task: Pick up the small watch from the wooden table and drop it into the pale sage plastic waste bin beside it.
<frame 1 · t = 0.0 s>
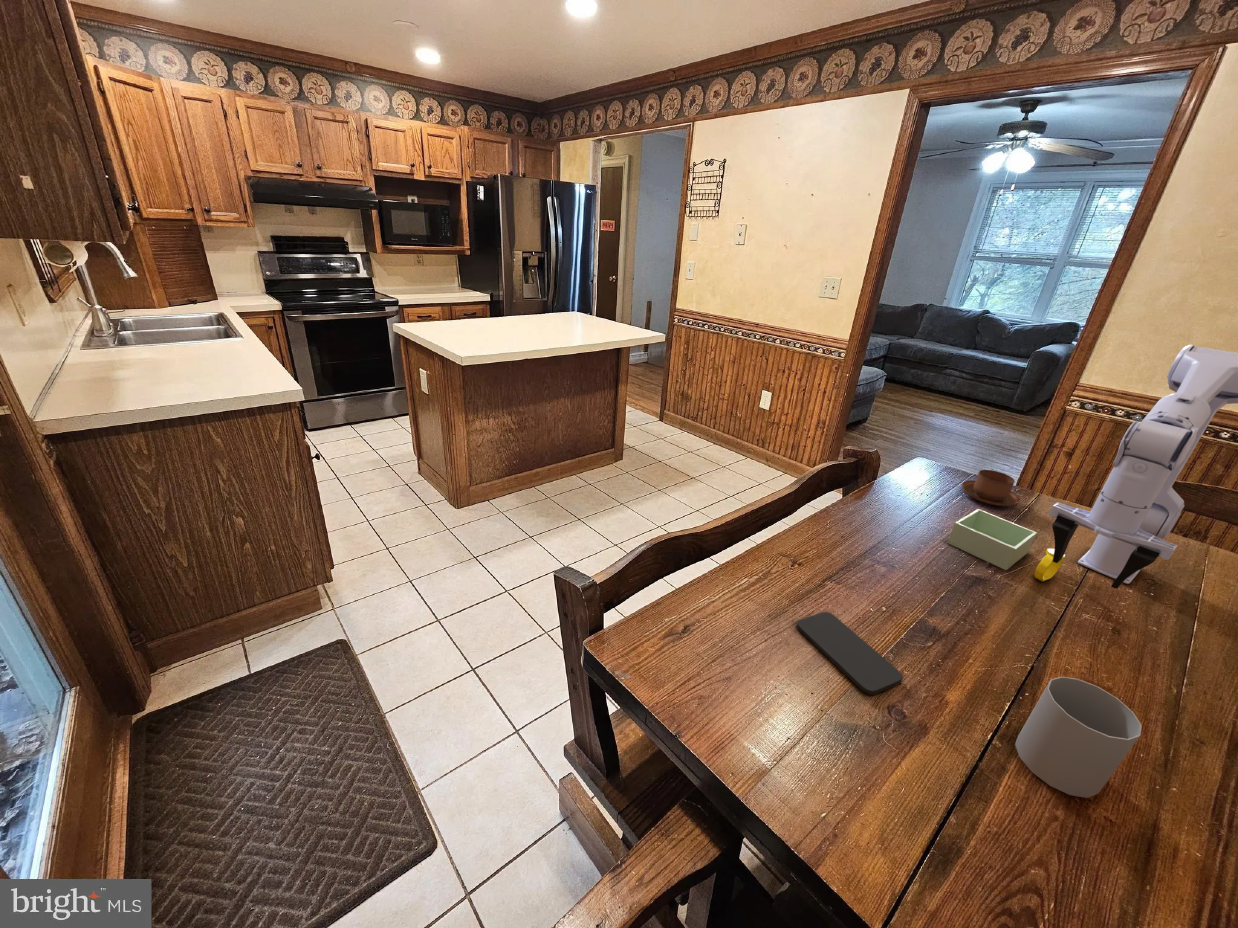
hand: (1085, 572, 82), 10 cm above the table, tool pointing down, fingers open, 7 cm apart
bin: (986, 547, 106), on the table
cup and saucer: (987, 499, 127), on the table
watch: (1042, 579, 98), on the table
phone: (845, 652, 78), on the table
cup: (1055, 763, 63), on the table
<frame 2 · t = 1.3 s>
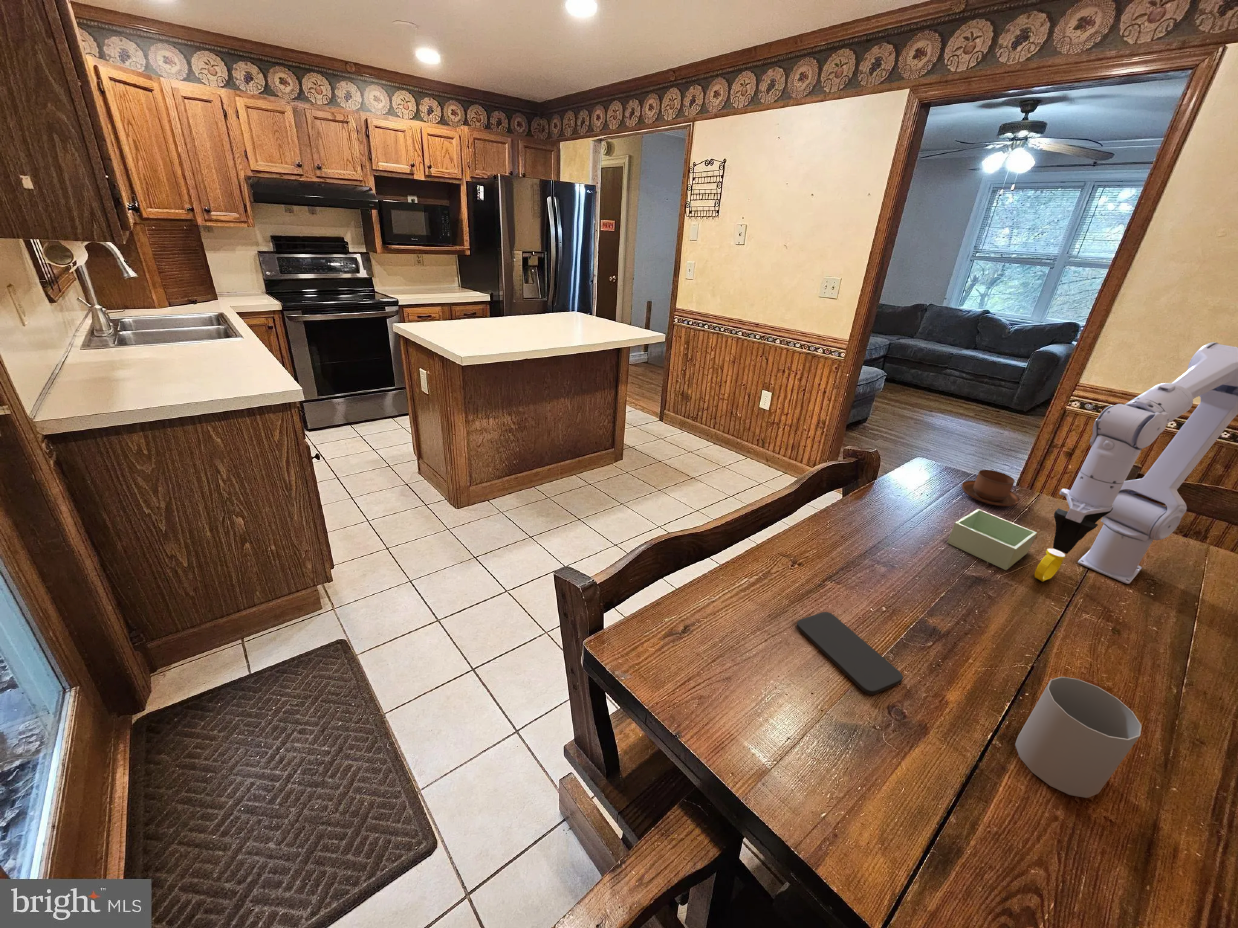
hand: (1067, 543, 92), 9 cm above the table, tool pointing down, fingers open, 7 cm apart
nothing on the table moved.
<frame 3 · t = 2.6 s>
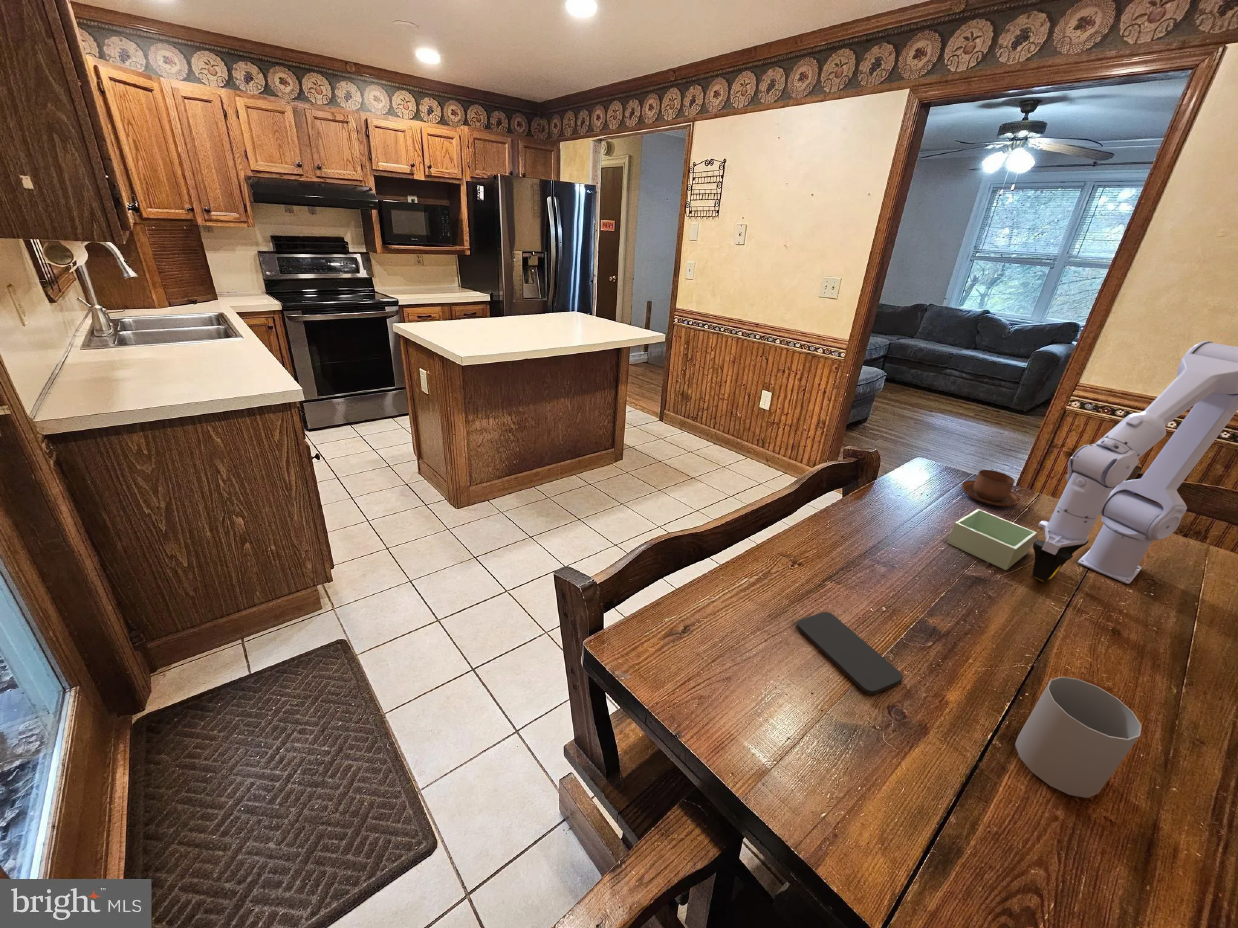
hand: (1045, 572, 97), 1 cm above the table, tool pointing down, fingers closed on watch, 6 cm apart
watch: (1042, 579, 98), on the table, touching gripper
everything else where it was.
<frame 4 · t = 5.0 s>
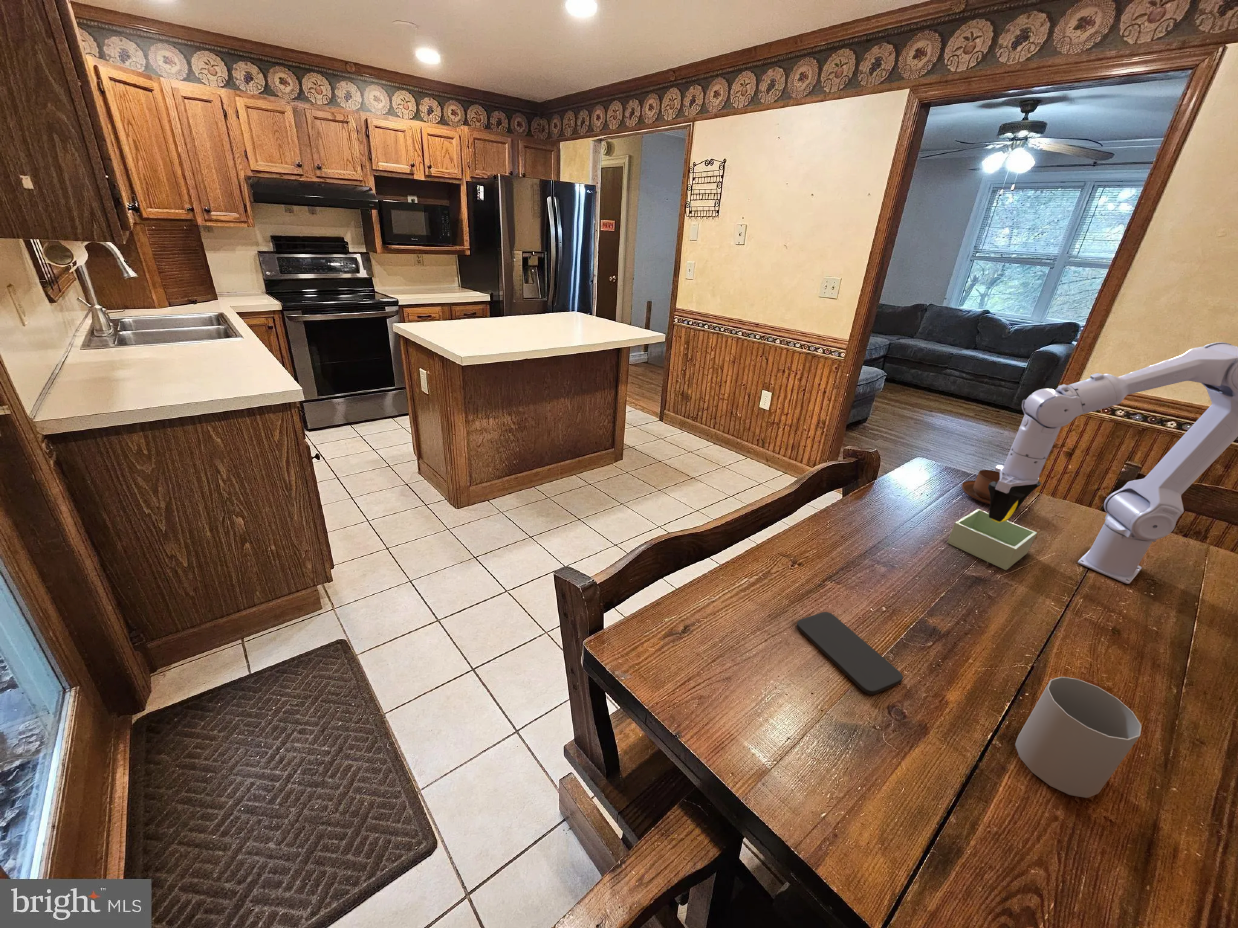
hand: (1001, 514, 103), 8 cm above the table, tool pointing down, fingers closed on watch, 6 cm apart
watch: (998, 521, 103), point 7 cm above the table, touching gripper
everything else where it was.
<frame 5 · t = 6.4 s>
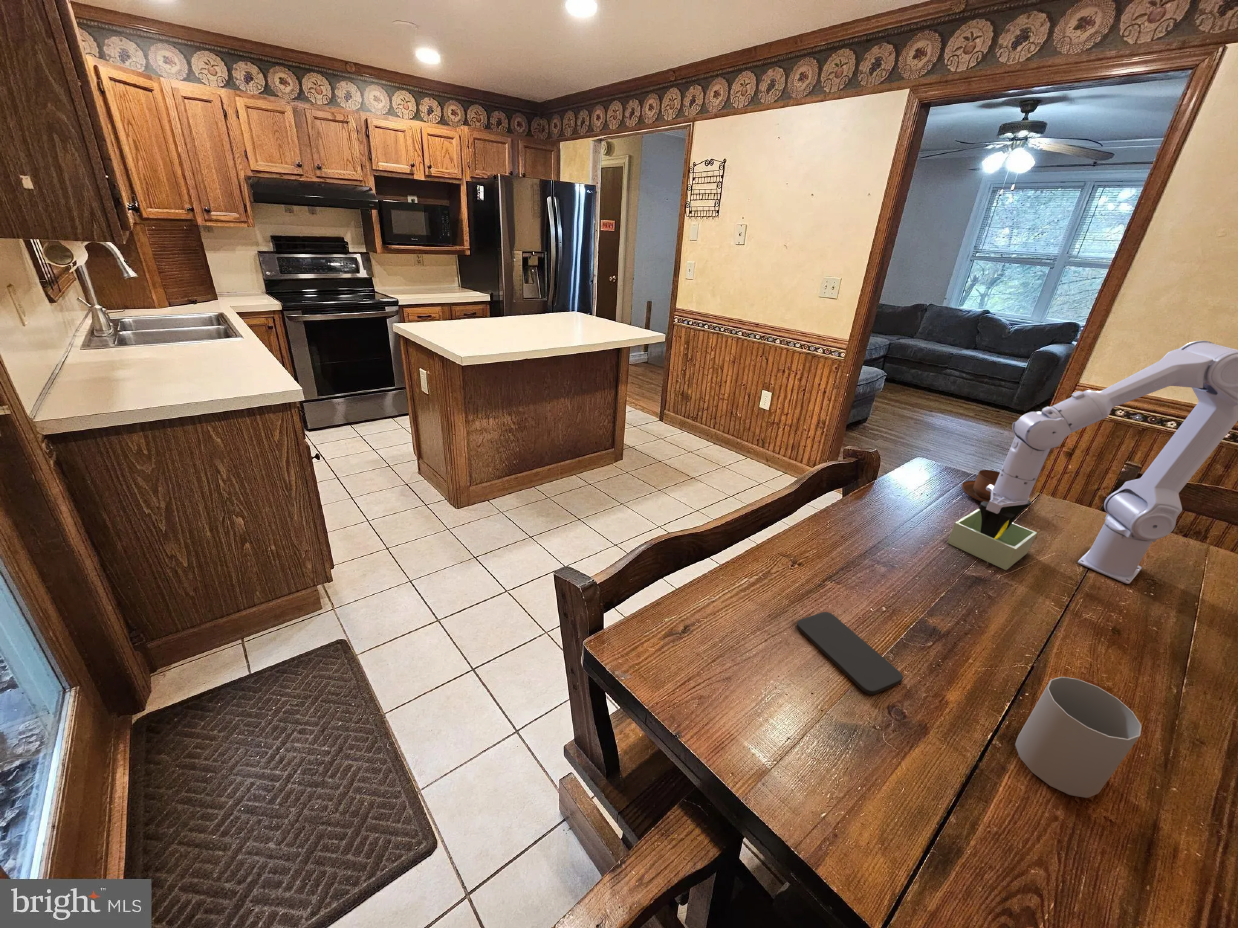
hand: (993, 533, 105), 4 cm above the table, tool pointing down, fingers closed on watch, 6 cm apart
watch: (990, 539, 105), point 2 cm above the table, touching gripper
everything else where it was.
when the fingers open (3 cm above the table, at t = 7.2 s): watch stays where it is, resting on bin.
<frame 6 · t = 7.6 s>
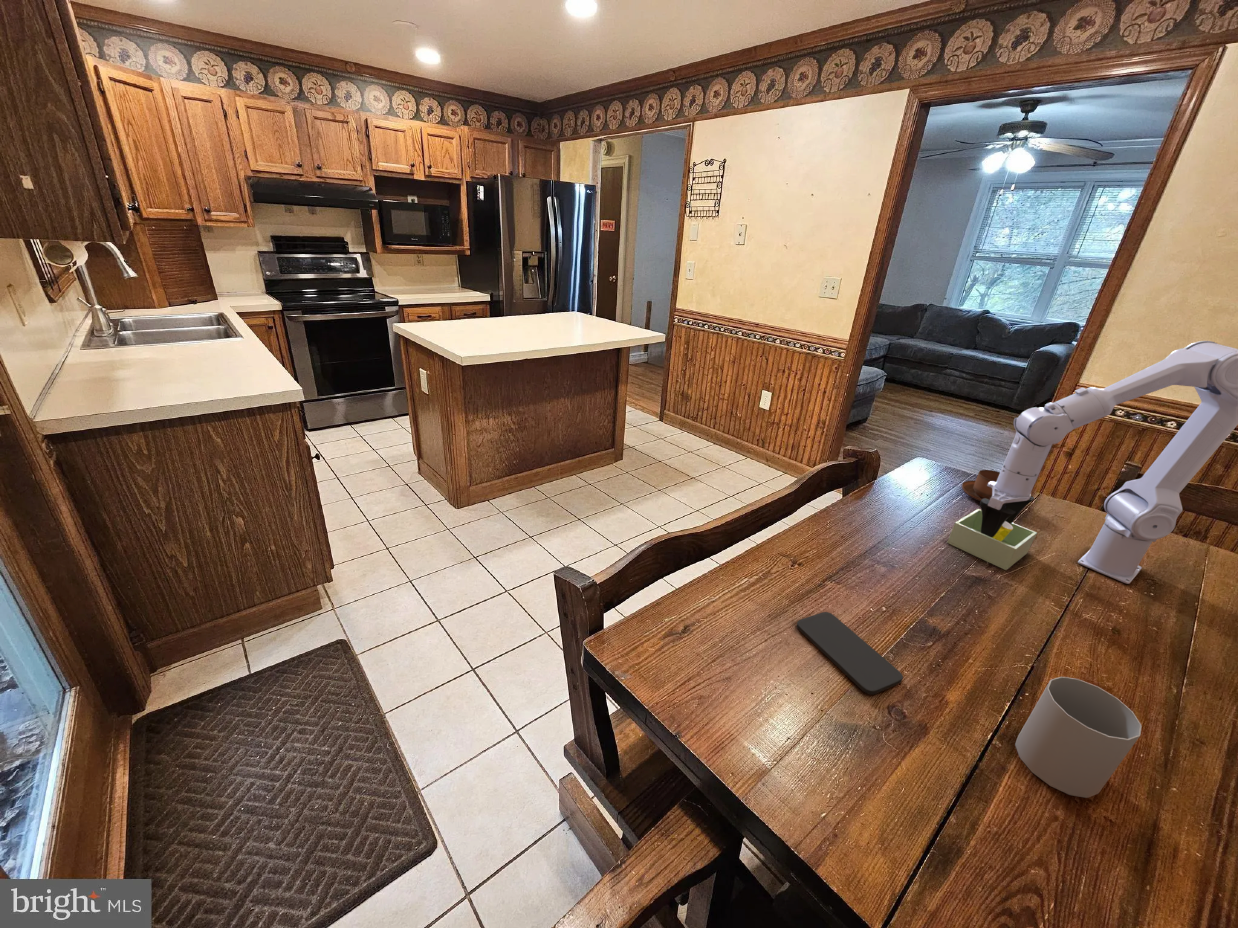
hand: (994, 529, 104), 5 cm above the table, tool pointing down, fingers open, 7 cm apart
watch: (987, 546, 106), resting on bin
everything else where it was.
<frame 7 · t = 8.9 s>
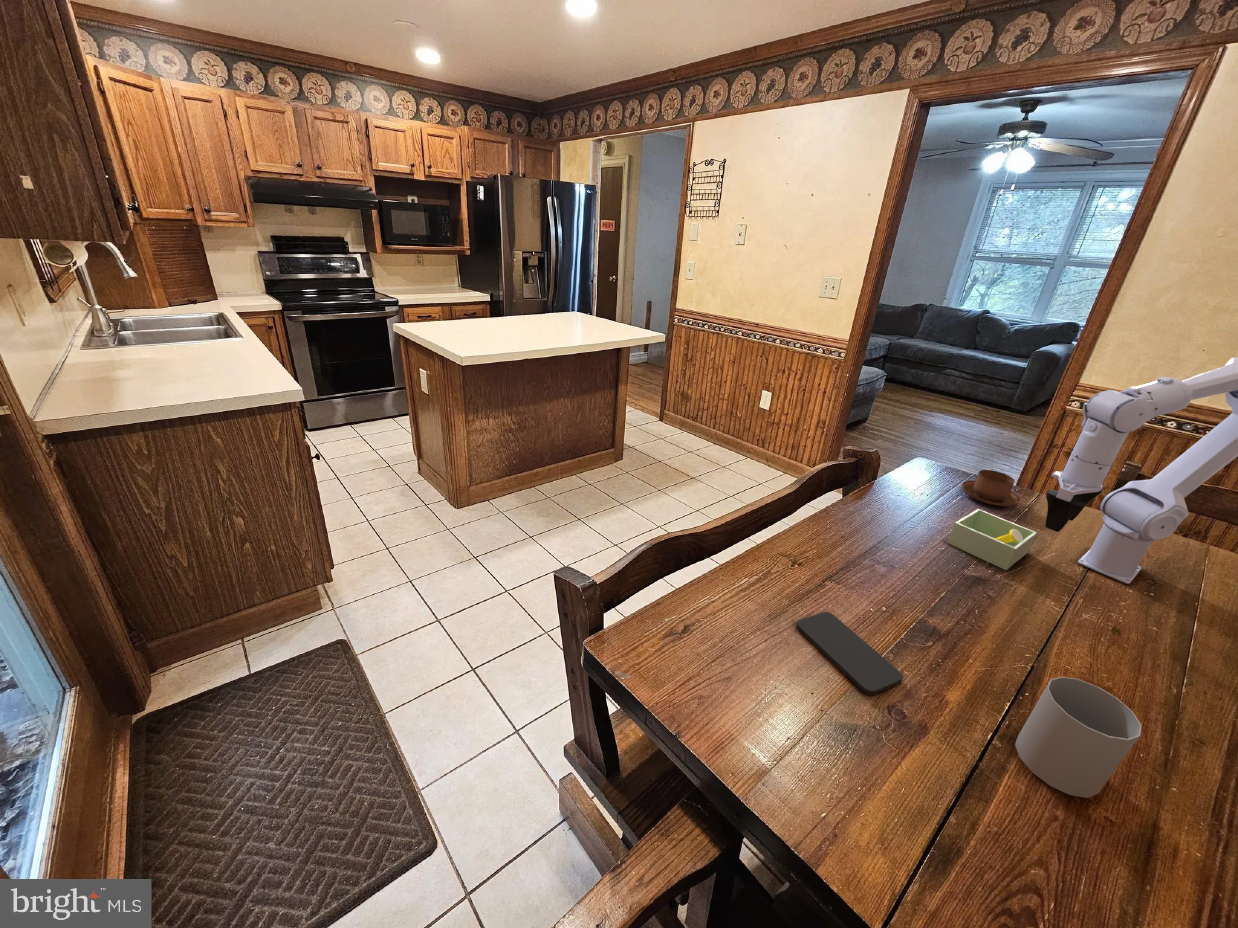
hand: (1059, 523, 97), 10 cm above the table, tool pointing down, fingers open, 7 cm apart
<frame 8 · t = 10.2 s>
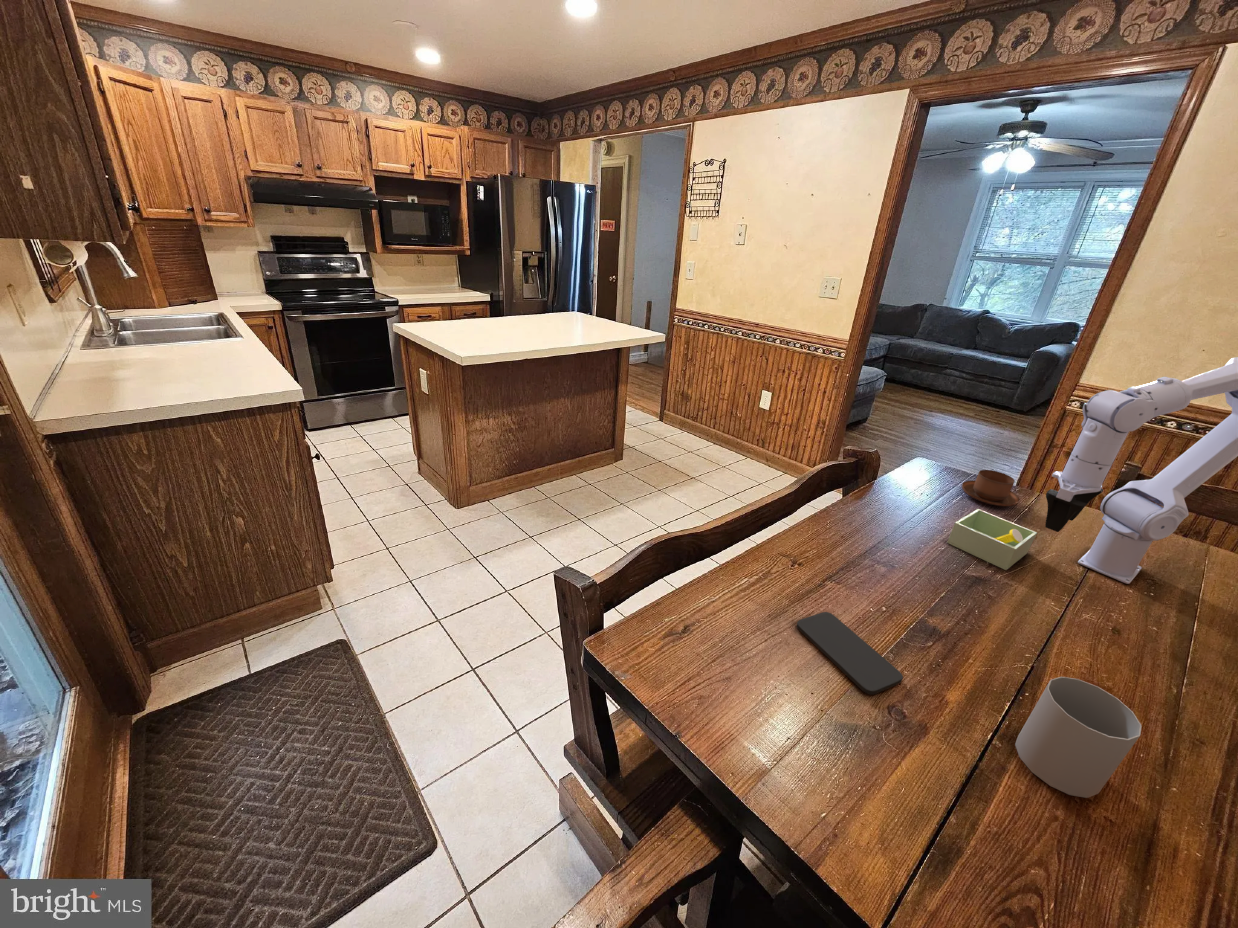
hand: (1059, 523, 97), 10 cm above the table, tool pointing down, fingers open, 7 cm apart
at the end: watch inside the target area in the bin (0.1 cm from its centre), point 0.8 cm above the bin's base; the gripper is holding nothing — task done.
